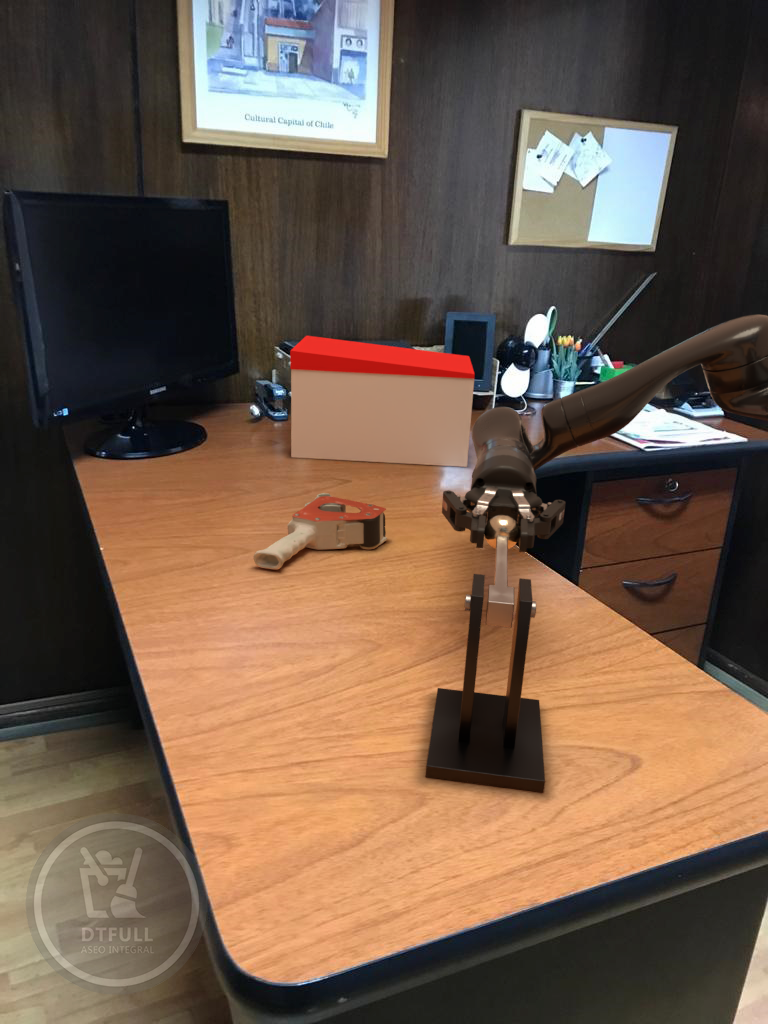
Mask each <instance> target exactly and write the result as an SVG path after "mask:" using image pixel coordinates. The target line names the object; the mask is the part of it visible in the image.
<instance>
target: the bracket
mask: <svg viewBox="0 0 768 1024" xmlns="http://www.w3.org/2000/svg"><path fill="white" fill-rule="evenodd" d="M485 581H486V575H485V574H480V573H473V575H472V584H471V585H472V586H471V594H465V598H464V608H463V609H464V611H466V612H469V619H468V630H467V643H466V653H465V661H464V662H465V663H464V674H463V685H462V690H461V689H460V690H459V689H450V688H442V687H437V689H436V690H437V691H436V696H435V704H434V710H433V717H432V725H431V731H430V738H429V739H430V740H429V745H428V751H427V758H426V765H425V778H431V779H439V780H445V781H453V782H461V783H467V784H475V785H483V786H489V787H491V786H493V787H498V788H505V789H512V790H513V789H514V790H521V791H528V792H534V793H535V792H537V793H544V792H545V786H546V777H545V776H546V775H545V762H544V746H543V733H542V721H541V719H542V718H541V705H540V700H539V699H534V698H528V697H527V698H525V697H522V691H523V683H524V675H525V666H526V660H527V650H528V643H529V642H528V641H529V635H530V627H531V619H535V618H536V614H537V601H535V600H533V590H532V589H533V588H532V579H531V578H530V579H529V578H519V579H518V587H517V595H516V605H515V612H514V615H515V616H514V621H513V629H512V630H513V631H512V639H511V649H510V657H509V666H508V675H507V682H506V683H507V684H506V690H505V691H506V692H505V695H501V694H493V693H484V692H475V689H476V680H477V669H478V660H479V659H478V658H479V649H480V638H481V628H482V619H483V618H482V617H483V608H484V607H483V606H484V599H485V598H484V596H485V583H486V582H485Z"/></svg>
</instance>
